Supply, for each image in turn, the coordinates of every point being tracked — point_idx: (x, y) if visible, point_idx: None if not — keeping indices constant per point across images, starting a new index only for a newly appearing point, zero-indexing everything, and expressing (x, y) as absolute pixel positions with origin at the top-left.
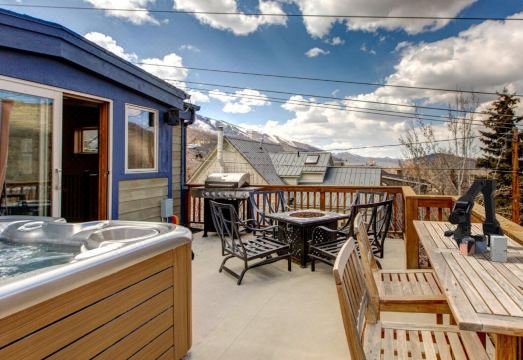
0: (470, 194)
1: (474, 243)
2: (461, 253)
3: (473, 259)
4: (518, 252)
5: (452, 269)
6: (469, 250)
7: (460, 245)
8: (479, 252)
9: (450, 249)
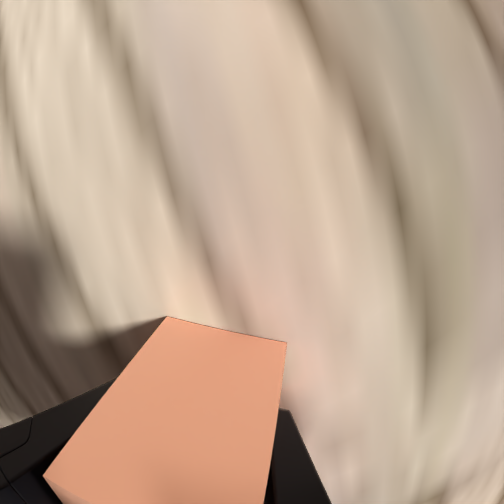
0: None
1: None
2: (253, 351)
3: (46, 155)
4: None
5: None
6: (97, 393)
7: (243, 499)
8: None
9: (418, 484)
